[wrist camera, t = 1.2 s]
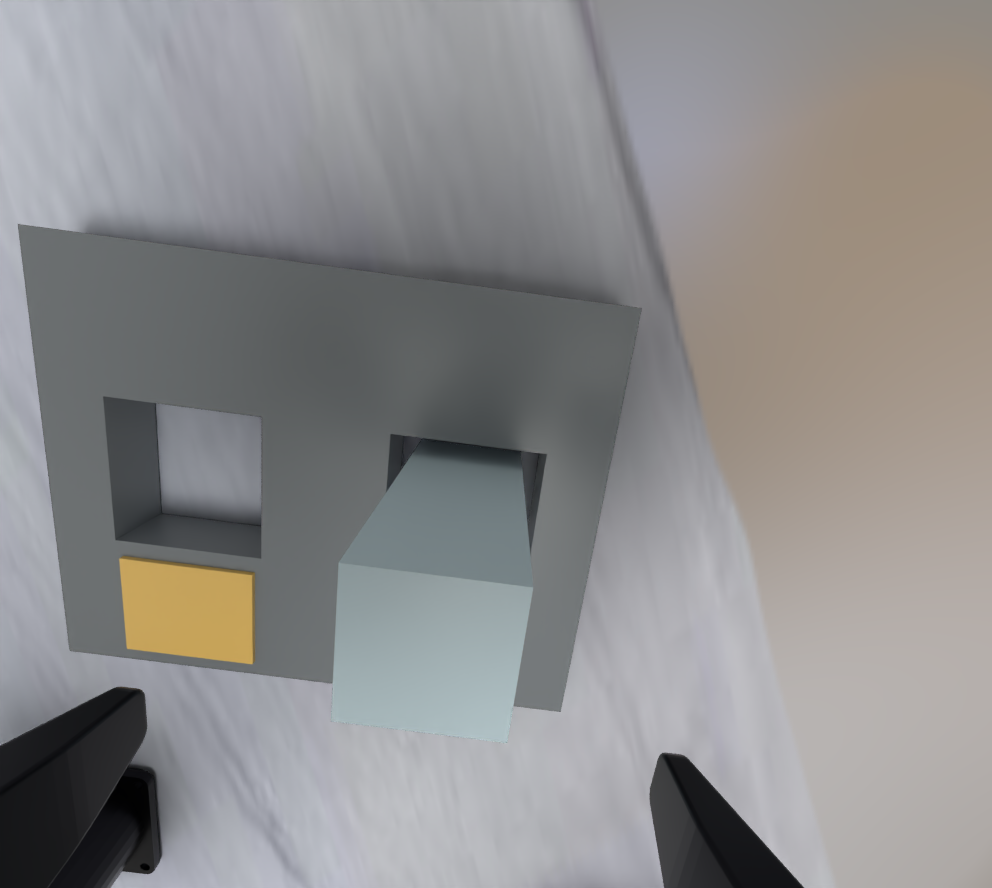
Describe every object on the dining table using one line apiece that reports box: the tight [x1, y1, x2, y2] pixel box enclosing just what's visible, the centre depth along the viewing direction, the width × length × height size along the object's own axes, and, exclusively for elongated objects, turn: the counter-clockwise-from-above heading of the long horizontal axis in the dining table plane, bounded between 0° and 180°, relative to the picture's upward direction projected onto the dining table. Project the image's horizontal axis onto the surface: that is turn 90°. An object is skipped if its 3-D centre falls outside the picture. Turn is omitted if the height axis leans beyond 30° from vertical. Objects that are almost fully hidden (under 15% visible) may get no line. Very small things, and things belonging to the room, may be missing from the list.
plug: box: [331, 439, 533, 743], centre depth 15 cm, size 4×4×10 cm
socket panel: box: [18, 224, 642, 712], centre depth 19 cm, size 16×20×3 cm
